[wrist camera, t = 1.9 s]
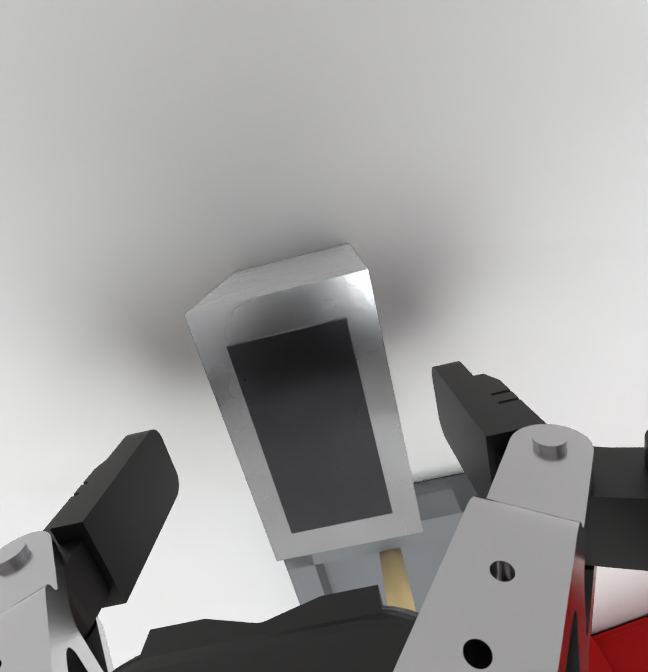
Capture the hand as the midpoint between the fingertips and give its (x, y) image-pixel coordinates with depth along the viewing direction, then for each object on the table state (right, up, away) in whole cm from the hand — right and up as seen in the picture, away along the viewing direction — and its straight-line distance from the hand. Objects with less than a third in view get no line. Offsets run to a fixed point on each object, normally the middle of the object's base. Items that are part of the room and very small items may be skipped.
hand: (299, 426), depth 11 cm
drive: (0, +2, +5) cm, 5 cm away
